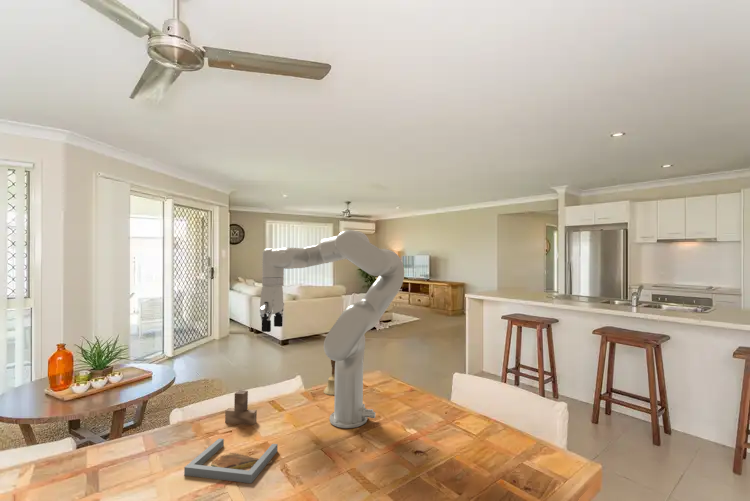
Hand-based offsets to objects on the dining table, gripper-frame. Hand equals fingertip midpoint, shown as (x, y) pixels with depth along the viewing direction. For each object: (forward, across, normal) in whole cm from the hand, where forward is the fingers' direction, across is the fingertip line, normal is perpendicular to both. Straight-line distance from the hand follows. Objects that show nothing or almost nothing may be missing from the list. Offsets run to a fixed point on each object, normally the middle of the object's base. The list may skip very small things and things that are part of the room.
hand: (272, 328), depth 131 cm
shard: (+29, +34, +6) cm, 45 cm away
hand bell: (+29, -19, +18) cm, 39 cm away
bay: (+28, +35, +6) cm, 45 cm away
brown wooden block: (+28, +13, -4) cm, 32 cm away
